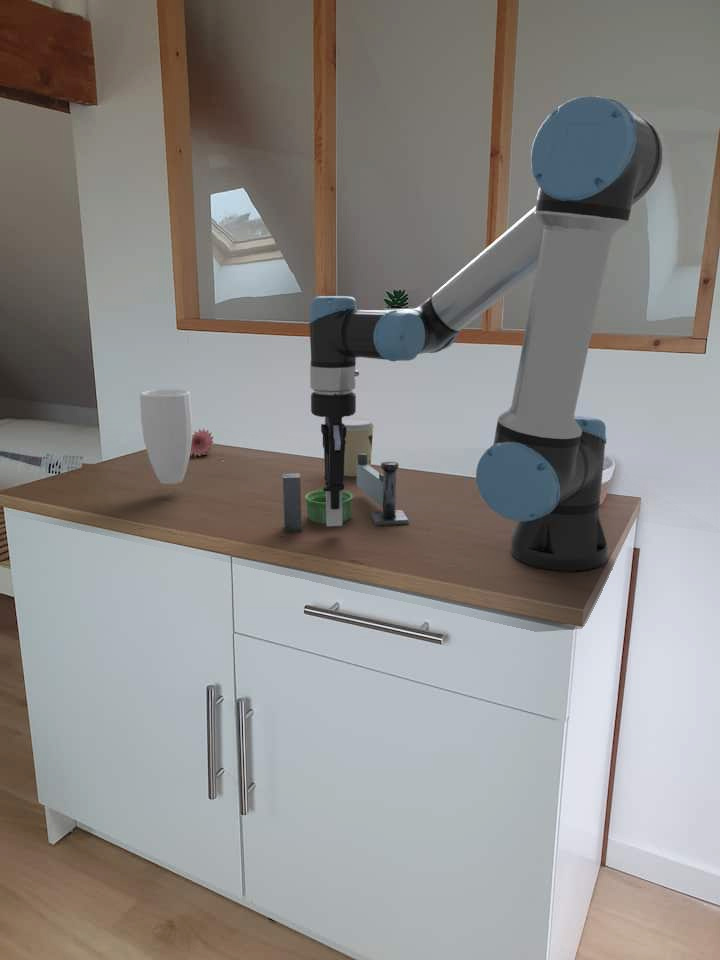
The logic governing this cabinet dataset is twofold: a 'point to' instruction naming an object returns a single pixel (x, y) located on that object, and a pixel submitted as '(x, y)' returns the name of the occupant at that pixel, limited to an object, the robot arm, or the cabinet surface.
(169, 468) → the cup
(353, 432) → the coffee cup
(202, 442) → the flower
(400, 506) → the cabinet surface
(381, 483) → the gate
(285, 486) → the stile
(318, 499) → the ramekin
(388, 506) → the pivot post
